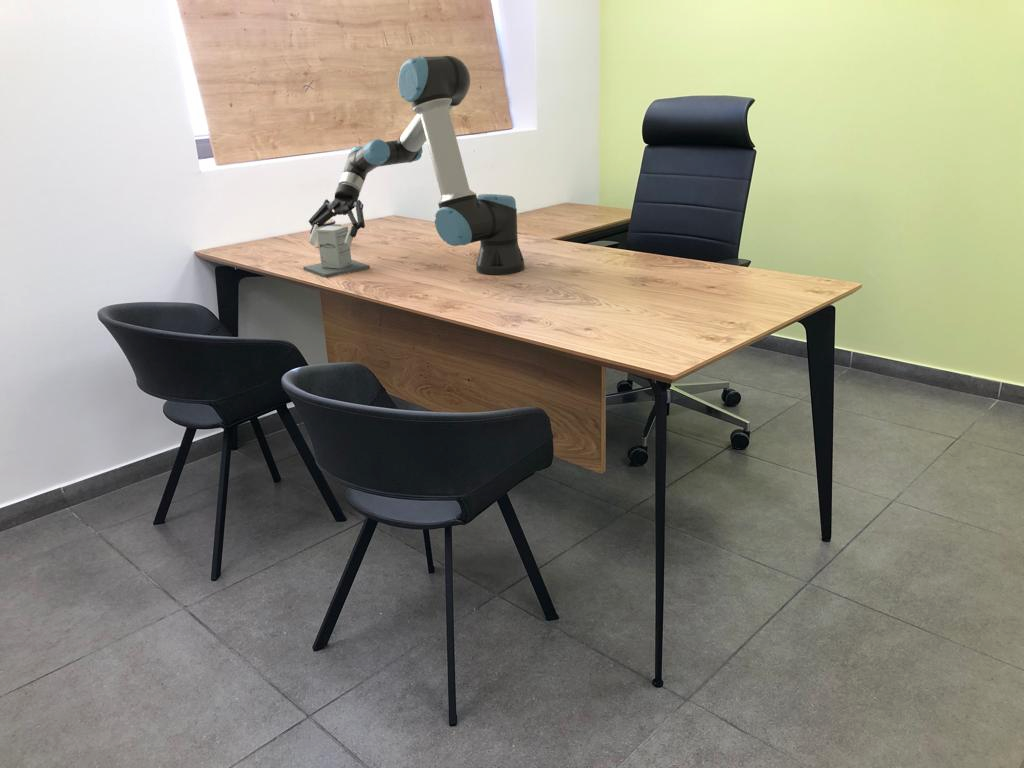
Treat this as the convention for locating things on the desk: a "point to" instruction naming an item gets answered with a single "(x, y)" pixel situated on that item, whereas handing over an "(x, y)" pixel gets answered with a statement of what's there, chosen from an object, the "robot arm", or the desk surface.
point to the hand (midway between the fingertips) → (329, 244)
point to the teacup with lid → (329, 223)
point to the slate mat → (335, 269)
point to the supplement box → (333, 247)
